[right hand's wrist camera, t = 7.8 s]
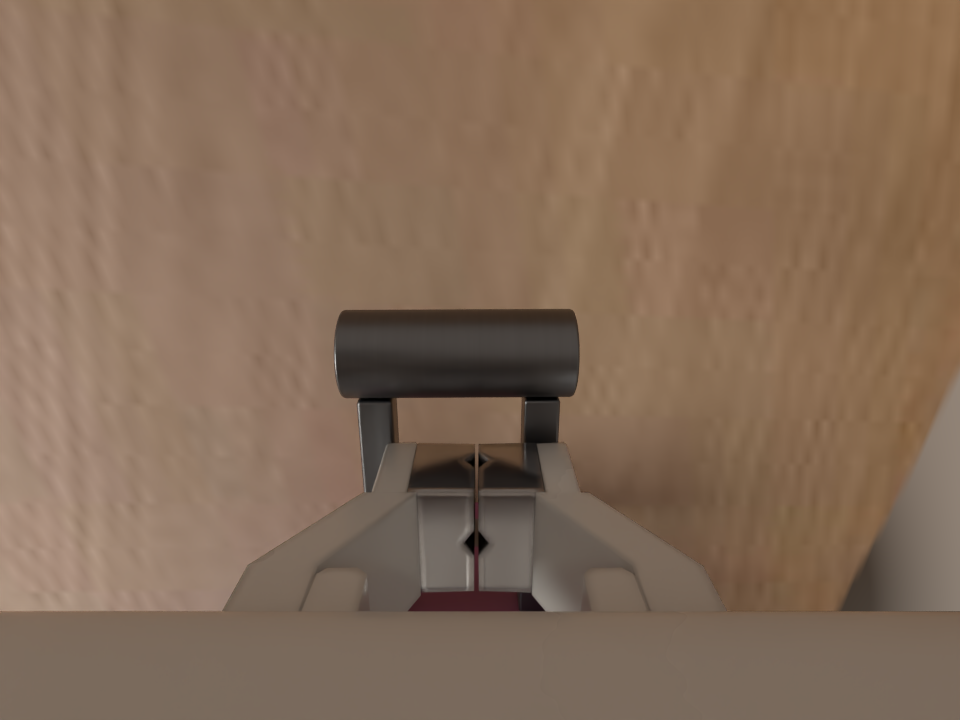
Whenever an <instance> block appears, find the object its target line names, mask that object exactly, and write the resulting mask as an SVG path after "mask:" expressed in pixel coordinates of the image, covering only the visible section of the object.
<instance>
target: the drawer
mask: <svg viewBox="0 0 960 720" xmlns="http://www.w3.org/2000/svg"><path fill="white" fill-rule="evenodd" d="M334 366H335V375H336V381H337V385H338V389H339V392H340V394H341V395H342V396H343V397H344V398H359V400H358V403H357V411H358V423H359V435H360V448H361V460H362V472H363V485H364V492H372V489H373V486H374V483H375V480H376V476H377V473H378V470H379V467H380V464H381V460H382V457H383V454H384V451H385V448H386V445H387V444H389V443H399V434H398V416H397V398H454V397H522V409H521V443H557V442H558V433H559V413H560V401H559V398H558V397H571V396H573V395H574V393H575V390H576V387H577V382H578V375H579V333H578V325H577V320H576V316H575V314H574V311H573V310H571V309H472V310H344V311H342V312H341V314H340V315H339V318H338V321H337V325H336V330H335V339H334ZM408 611H545V610H544V609H543V608H542V606H541V605H540V604H539V603H538V602H537V600H536V599H535V598H534V597H533V596H532V592H495V591H479V563H478V502H475V571H474V591H457V592H421V596H420V597H419V598H418V599H417V601H416V602H415V603H414V604H413V605H412V606H411V608H410V609H409V610H408Z"/></svg>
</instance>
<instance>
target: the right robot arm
mask: <svg viewBox="0 0 960 720" xmlns="http://www.w3.org/2000/svg"><path fill="white" fill-rule="evenodd" d="M478 563H479V591H495V592H532V596H533V597H534V598H535V599H536V600H537V602H538V603H539V604H540V605H541V606H542V608H543V609H544V610H545V611H408V610H409V609H410V608H411V606H412V605H413V604H414V603H415V602H416V601H417V599H418V598H419V597H420V596H421V592H457V591H474V571H475V444H447V443H418V444H417V443H416V442H408V443H389V444H387V445H386V448H385V451H384V454H383V457H382V460H381V464H380V467H379V470H378V473H377V476H376V480H375V483H374V486H373V489H372V492H363V493H362V494H360V495H358V496H357V497H355V498H354V499H352V500H350V501H349V502H347V503H346V504H344V505H343V506H341V507H339V508H338V509H336V510H335V511H333V512H331V513H330V514H328V515H327V516H325V517H323V518H322V519H320V520H319V521H317V522H316V523H314V524H312V525H311V526H309V527H308V528H306V529H304V530H303V531H301V532H300V533H298V534H297V535H295V536H293V537H292V538H290V539H289V540H287V541H285V542H284V543H282V544H281V545H279V546H278V547H276V548H274V549H273V550H271V551H270V552H268V553H266V554H265V555H263V556H262V557H260V558H259V559H257V560H255V561H254V562H252V563H251V564H249V565H248V566H247V568H246V569H245V571H244V573H243V575H242V577H241V578H240V580H239V582H238V584H237V586H236V587H235V589H234V591H233V593H232V594H231V596H230V598H229V600H228V602H227V603H226V605H225V607H224V609H223V611H0V720H960V611H727V610H726V608H725V606H724V604H723V602H722V601H721V599H720V597H719V595H718V593H717V591H716V589H715V587H714V585H713V584H712V582H711V580H710V578H709V576H708V574H707V572H706V570H705V568H704V566H702V565H701V564H699V563H698V562H696V561H695V560H693V559H692V558H690V557H688V556H687V555H685V554H684V553H682V552H681V551H679V550H678V549H676V548H674V547H673V546H671V545H670V544H668V543H667V542H665V541H664V540H662V539H661V538H659V537H657V536H656V535H654V534H653V533H651V532H650V531H648V530H647V529H645V528H643V527H642V526H640V525H639V524H637V523H636V522H634V521H633V520H631V519H629V518H628V517H626V516H625V515H623V514H622V513H620V512H619V511H617V510H616V509H614V508H612V507H611V506H609V505H608V504H606V503H605V502H603V501H602V500H600V499H598V498H597V497H595V496H594V495H592V494H591V493H589V492H581V491H580V488H579V485H578V481H577V478H576V474H575V471H574V468H573V464H572V461H571V458H570V454H569V451H568V448H567V444H565V443H564V442H557V443H505V444H479V461H478Z"/></svg>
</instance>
